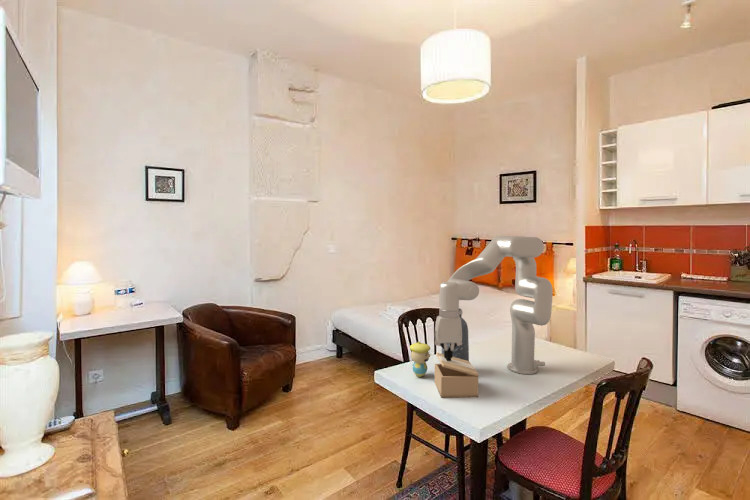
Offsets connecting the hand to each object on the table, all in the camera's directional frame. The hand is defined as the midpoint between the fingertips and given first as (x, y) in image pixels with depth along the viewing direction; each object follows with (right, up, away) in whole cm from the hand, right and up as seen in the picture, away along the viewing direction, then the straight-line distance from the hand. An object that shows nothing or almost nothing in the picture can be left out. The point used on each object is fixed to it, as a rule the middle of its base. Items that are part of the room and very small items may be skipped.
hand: (448, 359), depth 154 cm
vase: (+7, -11, +19) cm, 23 cm away
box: (+3, -12, +1) cm, 13 cm away
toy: (-9, -12, +15) cm, 21 cm away
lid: (+3, -2, 0) cm, 4 cm away
